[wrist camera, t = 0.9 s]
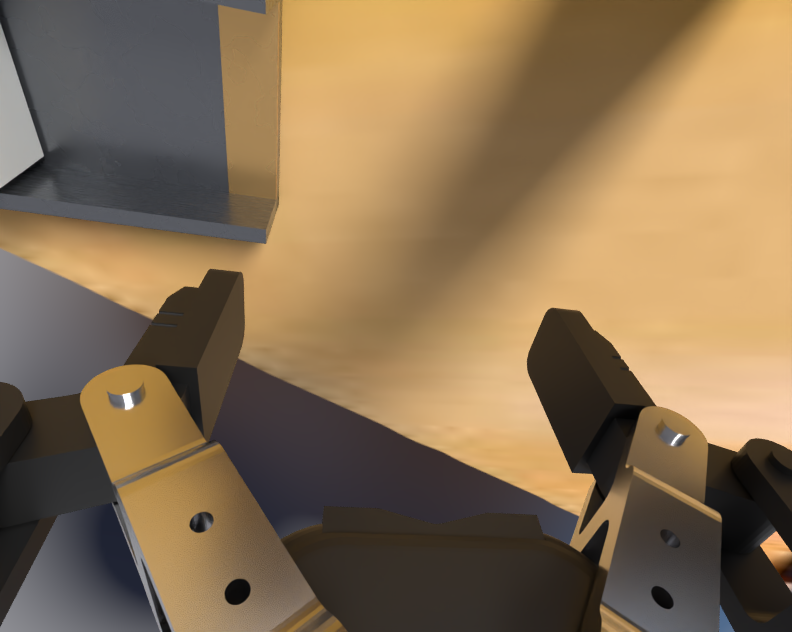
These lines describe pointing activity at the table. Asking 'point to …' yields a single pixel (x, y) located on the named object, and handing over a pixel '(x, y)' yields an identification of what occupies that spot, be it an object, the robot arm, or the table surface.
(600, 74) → the table surface
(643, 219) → the table surface
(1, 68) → the white knobbed block
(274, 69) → the bay
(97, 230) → the table surface
